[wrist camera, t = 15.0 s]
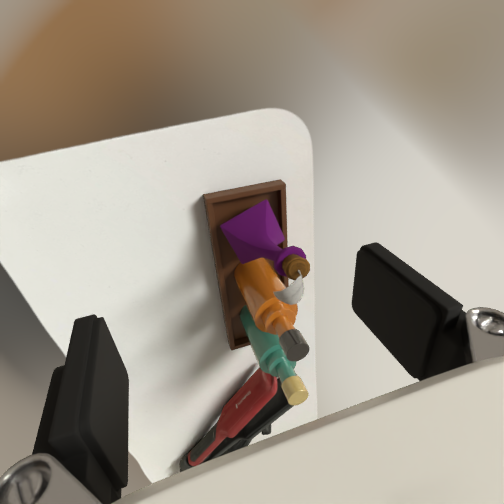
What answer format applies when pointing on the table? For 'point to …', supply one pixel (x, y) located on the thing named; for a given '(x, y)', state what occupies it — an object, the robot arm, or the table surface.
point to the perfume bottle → (267, 247)
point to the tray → (226, 260)
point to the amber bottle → (270, 306)
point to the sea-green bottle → (273, 359)
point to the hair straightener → (241, 419)
